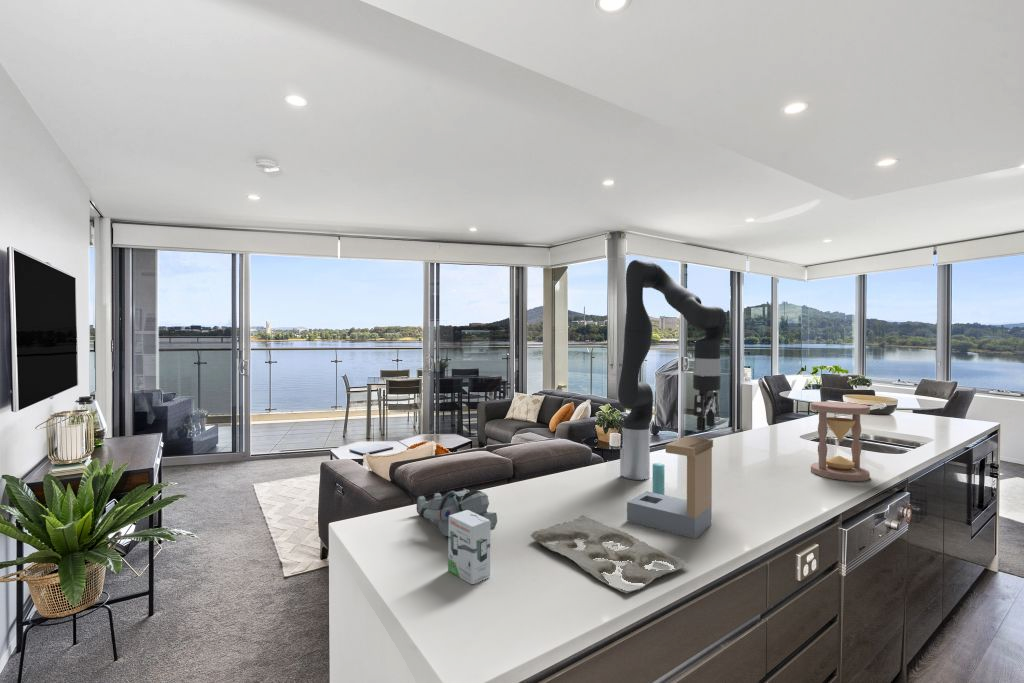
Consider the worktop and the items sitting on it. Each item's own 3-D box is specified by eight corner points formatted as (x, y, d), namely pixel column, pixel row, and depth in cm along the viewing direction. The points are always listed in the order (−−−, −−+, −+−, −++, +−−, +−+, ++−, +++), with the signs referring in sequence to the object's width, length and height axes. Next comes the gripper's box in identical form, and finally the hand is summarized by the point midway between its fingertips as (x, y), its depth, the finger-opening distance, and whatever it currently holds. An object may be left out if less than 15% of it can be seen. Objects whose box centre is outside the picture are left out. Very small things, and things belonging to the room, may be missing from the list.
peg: (650, 501, 145) (650, 464, 145) (655, 499, 147) (655, 462, 147) (661, 504, 143) (661, 466, 143) (666, 501, 145) (666, 464, 145)
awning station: (625, 521, 129) (625, 438, 129) (648, 507, 140) (648, 431, 140) (693, 540, 117) (693, 448, 117) (712, 523, 128) (713, 439, 128)
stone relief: (625, 601, 91) (691, 570, 102) (625, 586, 91) (691, 556, 102) (523, 542, 118) (584, 522, 129) (523, 531, 118) (584, 512, 129)
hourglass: (851, 468, 182) (851, 401, 182) (881, 482, 165) (882, 408, 165) (801, 467, 184) (801, 401, 184) (826, 480, 167) (826, 407, 167)
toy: (454, 484, 142) (510, 483, 118) (458, 523, 140) (516, 530, 115) (399, 494, 132) (448, 496, 108) (402, 536, 130) (453, 547, 106)
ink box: (446, 570, 102) (446, 514, 102) (465, 563, 105) (465, 508, 105) (472, 586, 96) (472, 525, 95) (491, 577, 99) (491, 519, 99)
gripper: (701, 371, 152) (700, 423, 152) (685, 374, 141) (684, 430, 141) (727, 373, 147) (726, 426, 148) (712, 376, 136) (711, 434, 136)
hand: (705, 428), depth 144 cm, fingers open, 8 cm apart
